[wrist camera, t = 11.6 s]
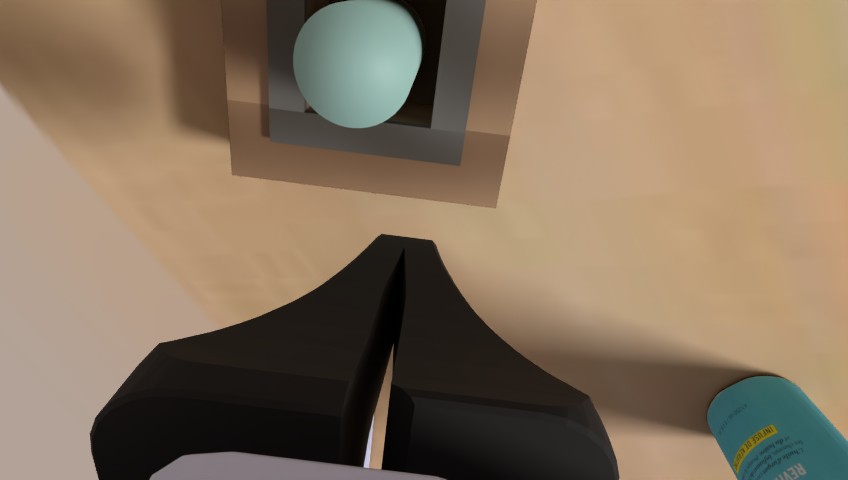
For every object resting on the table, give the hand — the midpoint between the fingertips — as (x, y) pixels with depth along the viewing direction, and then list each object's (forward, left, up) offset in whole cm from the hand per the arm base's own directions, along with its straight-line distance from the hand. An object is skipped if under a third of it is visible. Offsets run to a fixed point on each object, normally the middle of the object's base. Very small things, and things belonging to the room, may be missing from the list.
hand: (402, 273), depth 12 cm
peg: (+4, +2, -10) cm, 11 cm away
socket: (+4, +2, -10) cm, 11 cm away
